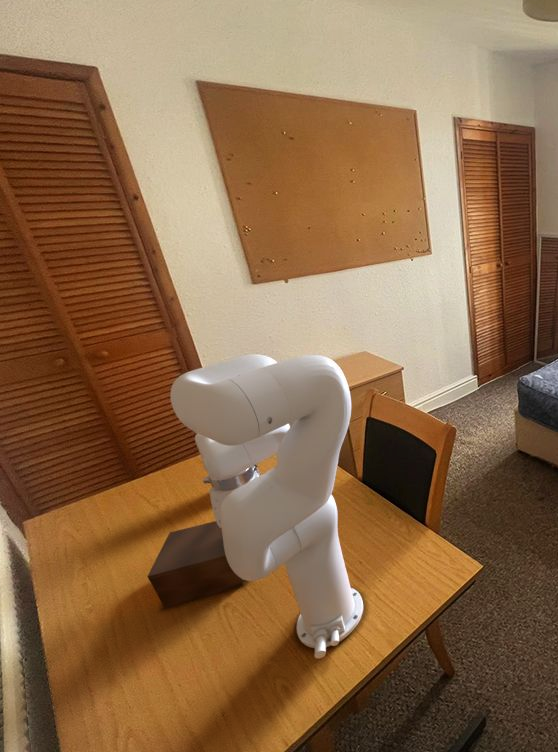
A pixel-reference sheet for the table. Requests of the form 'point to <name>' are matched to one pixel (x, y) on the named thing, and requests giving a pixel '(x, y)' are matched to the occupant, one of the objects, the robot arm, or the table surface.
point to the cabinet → (192, 566)
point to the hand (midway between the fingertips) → (256, 540)
